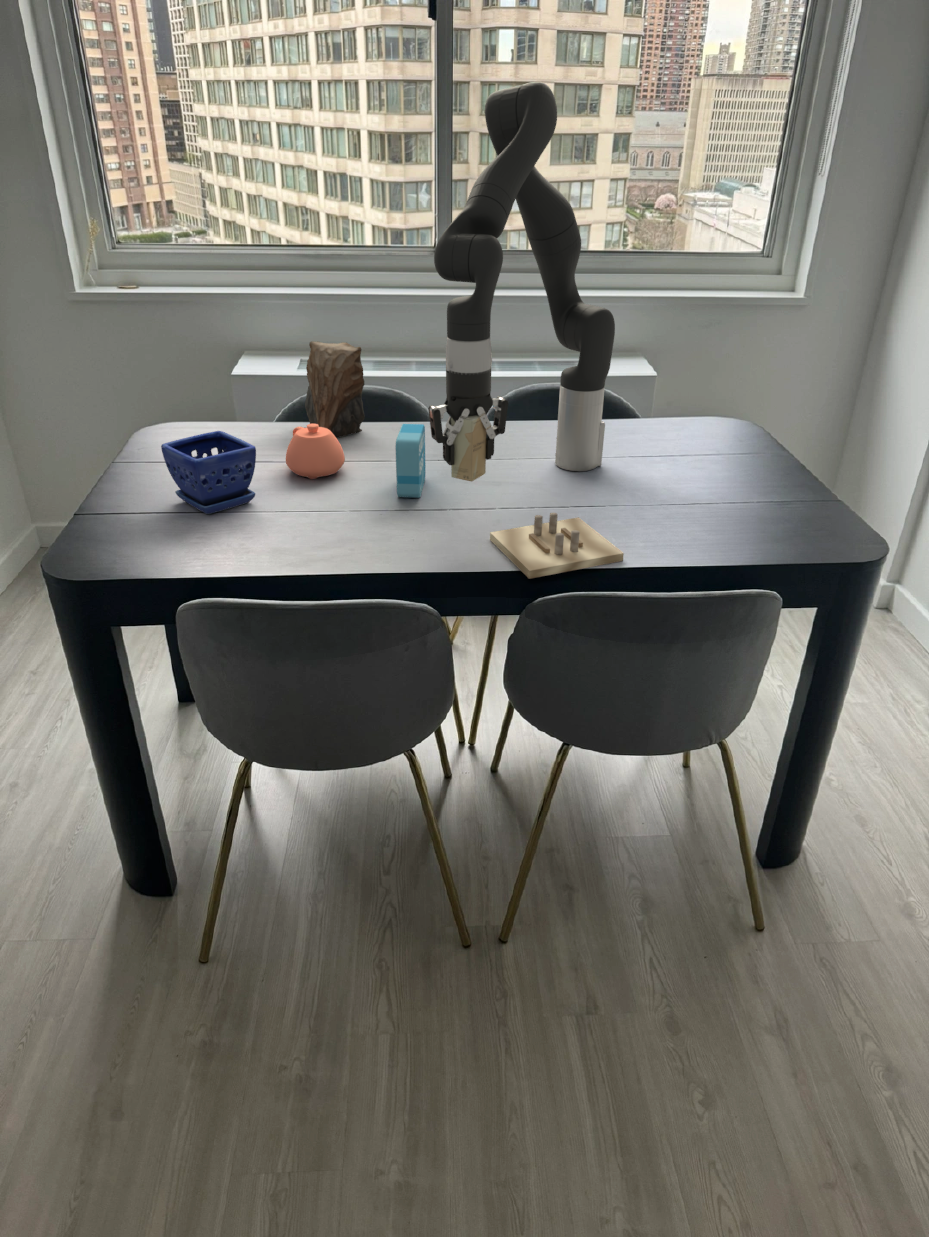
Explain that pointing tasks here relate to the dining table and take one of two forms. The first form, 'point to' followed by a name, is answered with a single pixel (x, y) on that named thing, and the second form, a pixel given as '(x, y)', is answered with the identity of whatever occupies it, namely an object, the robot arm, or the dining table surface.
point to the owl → (335, 387)
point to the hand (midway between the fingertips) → (468, 460)
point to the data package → (410, 460)
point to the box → (469, 450)
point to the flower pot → (211, 470)
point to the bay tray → (555, 546)
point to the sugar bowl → (314, 452)
